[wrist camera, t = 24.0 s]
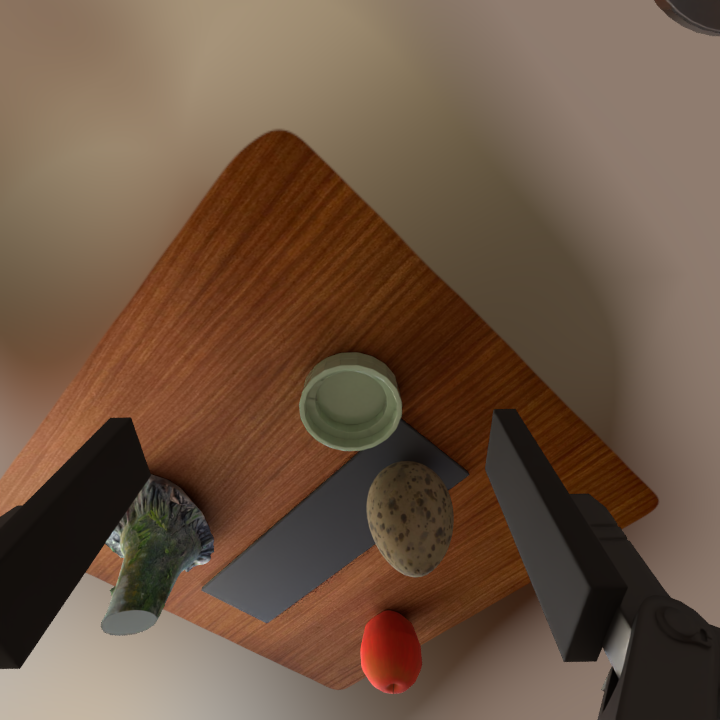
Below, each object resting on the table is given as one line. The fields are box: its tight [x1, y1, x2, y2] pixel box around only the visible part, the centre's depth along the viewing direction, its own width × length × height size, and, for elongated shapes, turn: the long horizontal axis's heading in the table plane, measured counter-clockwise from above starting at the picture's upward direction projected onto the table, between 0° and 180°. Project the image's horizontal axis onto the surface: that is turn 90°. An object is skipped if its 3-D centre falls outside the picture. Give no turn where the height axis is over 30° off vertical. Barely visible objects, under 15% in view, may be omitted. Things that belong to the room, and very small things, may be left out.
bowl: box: [299, 352, 402, 451], centre depth 49 cm, size 12×12×4 cm
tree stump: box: [101, 474, 214, 636], centre depth 55 cm, size 18×20×18 cm
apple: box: [360, 610, 422, 694], centre depth 66 cm, size 10×10×12 cm
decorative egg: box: [367, 461, 453, 577], centre depth 49 cm, size 11×11×15 cm
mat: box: [202, 419, 469, 623], centre depth 62 cm, size 48×14×1 cm, turn 137°
